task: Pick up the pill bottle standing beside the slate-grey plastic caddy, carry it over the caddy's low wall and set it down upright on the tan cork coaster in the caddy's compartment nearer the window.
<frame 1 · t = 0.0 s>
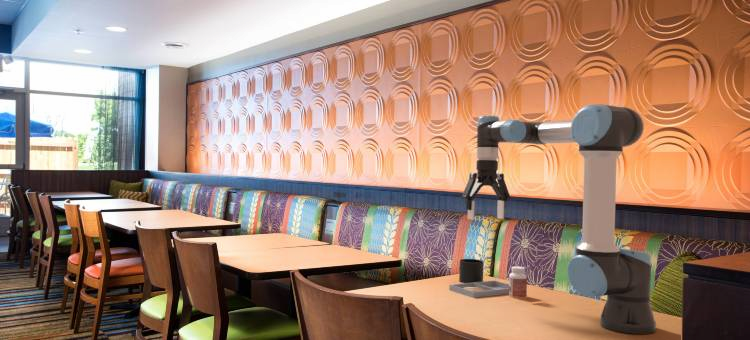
hand: (485, 219, 210), 28 cm above the table, fingers open, 13 cm apart
caddy: (484, 292, 218), on the table
pill bottle: (517, 298, 210), on the table
mug: (468, 283, 237), on the table
coaster: (473, 292, 215), resting on caddy
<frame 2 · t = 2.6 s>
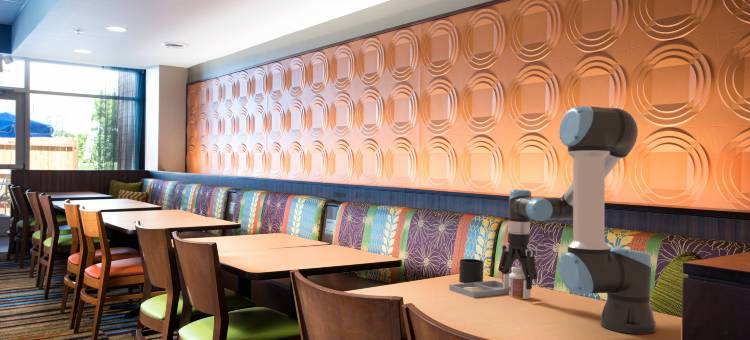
hand: (516, 294, 210), 1 cm above the table, fingers open, 10 cm apart
nothing on the table moved.
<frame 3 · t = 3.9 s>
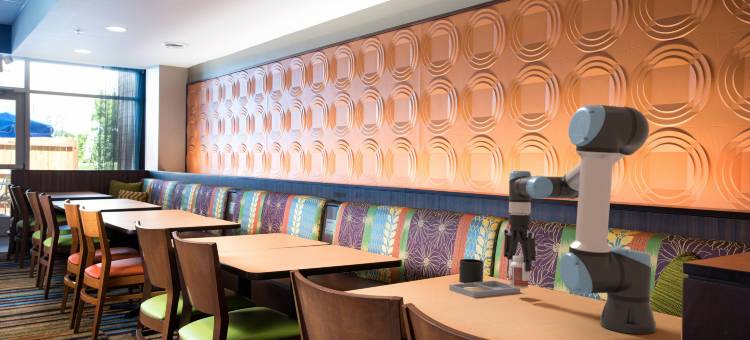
hand: (519, 279, 209), 7 cm above the table, fingers closed on pill bottle, 6 cm apart
pill bottle: (519, 287, 209), point 4 cm above the table, touching gripper
everything else where it was.
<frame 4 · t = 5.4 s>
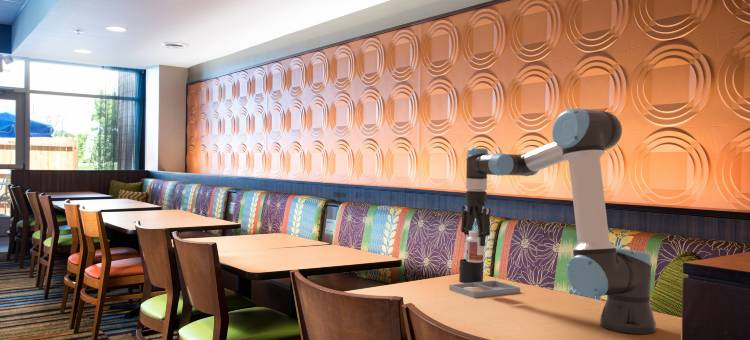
hand: (474, 253, 215), 15 cm above the table, fingers closed on pill bottle, 6 cm apart
pill bottle: (474, 261, 215), point 12 cm above the table, touching gripper
everything else where it was.
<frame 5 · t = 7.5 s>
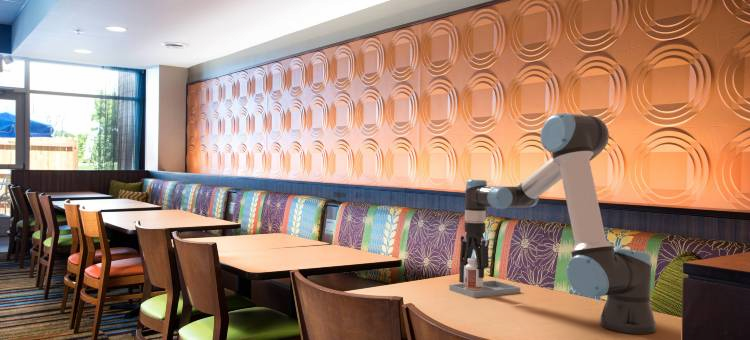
hand: (473, 284, 215), 3 cm above the table, fingers closed on pill bottle, 6 cm apart
pill bottle: (473, 289, 215), point 2 cm above the table, touching coaster, gripper
everything else where it was.
when the fingers open (3 cm above the table, at t = 7.9 s): pill bottle stays where it is, resting on coaster.
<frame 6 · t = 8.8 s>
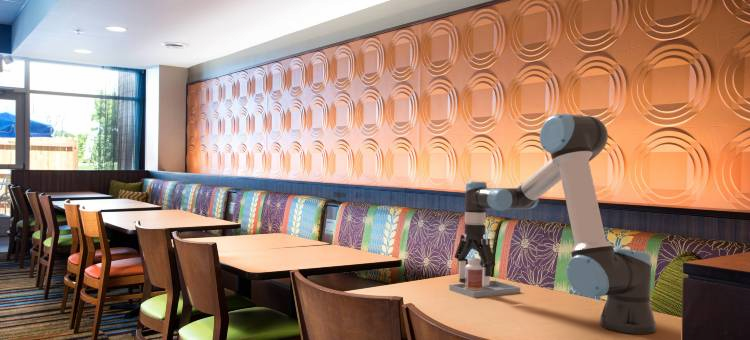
hand: (473, 281, 215), 4 cm above the table, fingers open, 13 cm apart
pill bottle: (473, 289, 215), point 2 cm above the table, touching coaster
everything else where it was.
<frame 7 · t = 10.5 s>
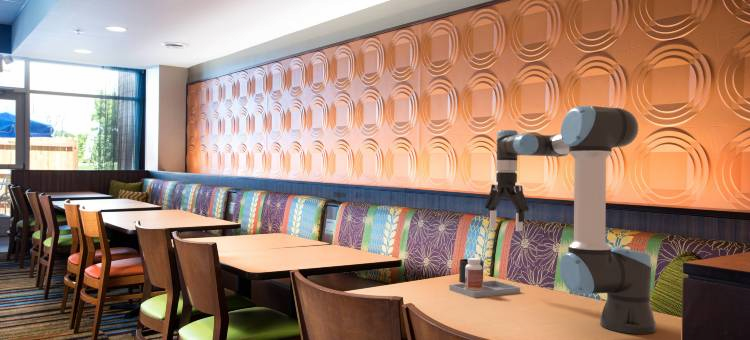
hand: (505, 229, 218), 24 cm above the table, fingers open, 13 cm apart
nothing on the table moved.
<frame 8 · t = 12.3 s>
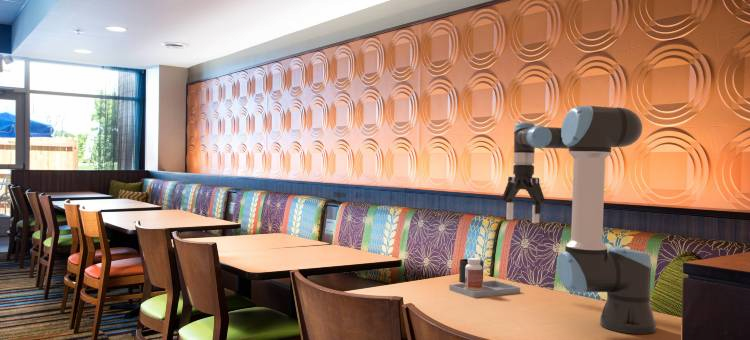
hand: (522, 221, 220), 27 cm above the table, fingers open, 13 cm apart
nothing on the table moved.
at the end: pill bottle inside the target area on the caddy (0.4 cm from its centre), point 1.6 cm above the caddy's base; pill bottle tilted 0°; the gripper is holding nothing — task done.
